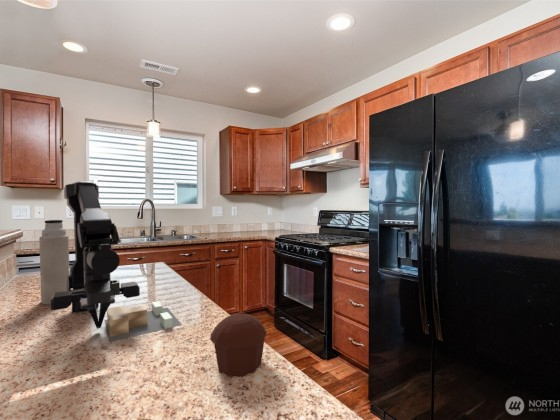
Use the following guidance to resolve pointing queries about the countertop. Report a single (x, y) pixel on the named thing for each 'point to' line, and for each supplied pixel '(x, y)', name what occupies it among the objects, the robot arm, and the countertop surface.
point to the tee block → (125, 319)
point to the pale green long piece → (162, 315)
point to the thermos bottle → (53, 259)
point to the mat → (144, 326)
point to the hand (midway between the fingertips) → (98, 327)
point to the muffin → (238, 344)
